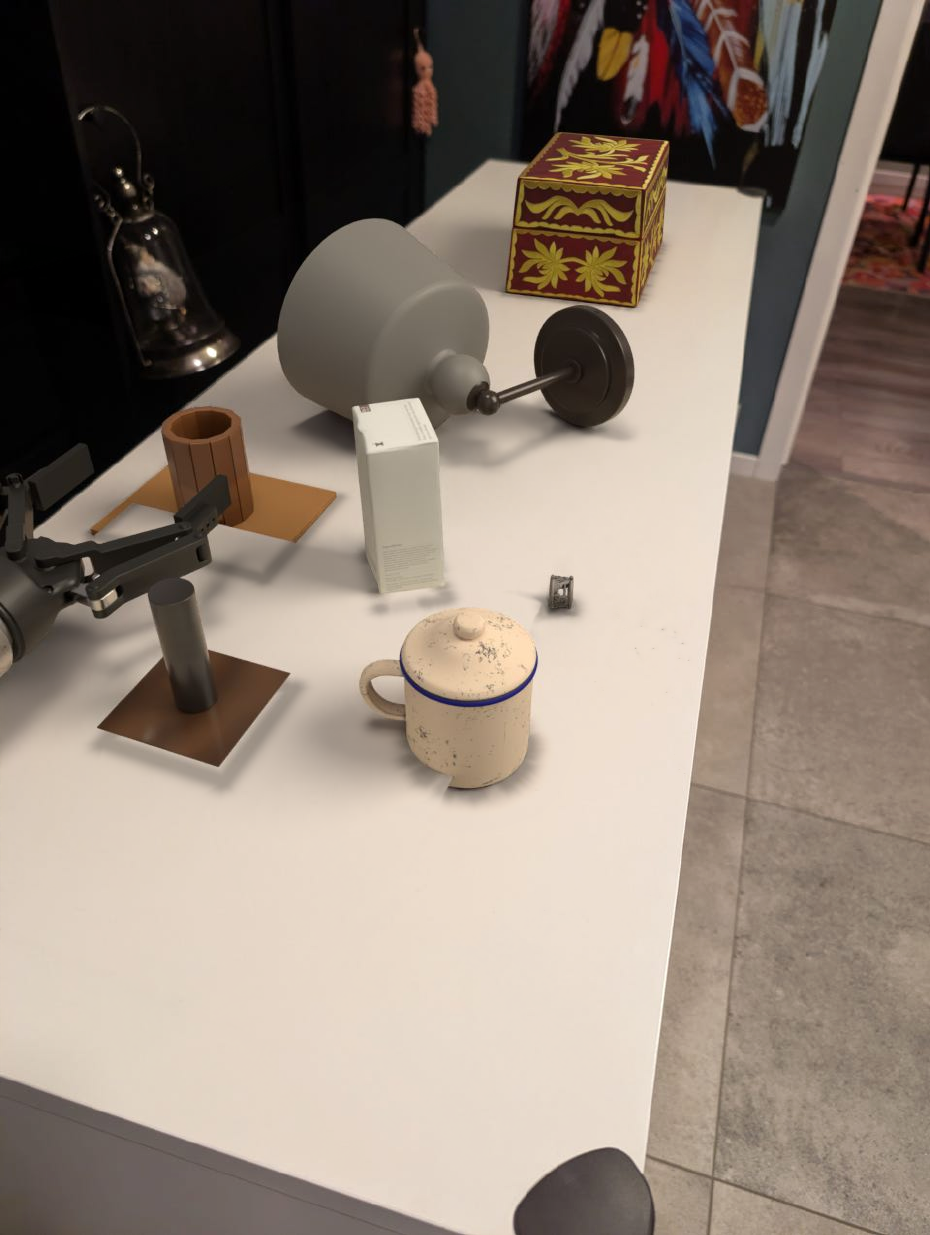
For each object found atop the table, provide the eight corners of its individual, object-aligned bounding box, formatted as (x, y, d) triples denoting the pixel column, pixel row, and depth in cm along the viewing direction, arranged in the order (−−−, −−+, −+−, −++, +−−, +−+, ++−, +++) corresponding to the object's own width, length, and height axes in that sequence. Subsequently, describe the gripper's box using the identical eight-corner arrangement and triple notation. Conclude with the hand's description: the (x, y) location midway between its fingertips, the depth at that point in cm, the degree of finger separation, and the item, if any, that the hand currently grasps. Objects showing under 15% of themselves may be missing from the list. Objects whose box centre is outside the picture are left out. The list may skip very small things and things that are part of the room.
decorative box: (546, 230, 154) (552, 128, 144) (662, 242, 150) (677, 138, 141) (504, 292, 134) (508, 178, 124) (637, 308, 130) (652, 191, 120)
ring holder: (100, 742, 68) (58, 618, 61) (180, 654, 76) (151, 534, 68) (222, 781, 66) (193, 657, 58) (293, 687, 73) (275, 565, 65)
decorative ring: (570, 616, 80) (573, 588, 78) (548, 614, 80) (550, 586, 78) (571, 595, 82) (574, 567, 80) (548, 593, 82) (551, 565, 80)
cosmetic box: (446, 598, 81) (445, 443, 72) (376, 609, 80) (365, 452, 71) (426, 542, 87) (423, 393, 78) (361, 551, 86) (349, 400, 77)
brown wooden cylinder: (165, 521, 89) (145, 434, 83) (206, 484, 94) (190, 400, 88) (229, 537, 87) (213, 449, 81) (267, 499, 92) (254, 414, 86)
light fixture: (276, 233, 89) (477, 360, 77) (467, 197, 104) (661, 298, 92) (271, 422, 103) (442, 555, 91) (441, 366, 118) (607, 474, 106)
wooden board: (91, 534, 88) (89, 528, 88) (178, 461, 98) (177, 456, 98) (263, 578, 83) (262, 572, 83) (336, 496, 93) (336, 491, 93)
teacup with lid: (534, 704, 72) (543, 580, 64) (527, 799, 65) (537, 673, 57) (375, 691, 72) (366, 568, 65) (352, 784, 66) (339, 658, 58)
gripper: (-148, 625, 71) (44, 482, 86) (138, 713, 64) (291, 541, 79) (-192, 541, 66) (20, 406, 81) (113, 627, 59) (281, 462, 75)
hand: (155, 472), depth 80 cm, fingers open, 13 cm apart
